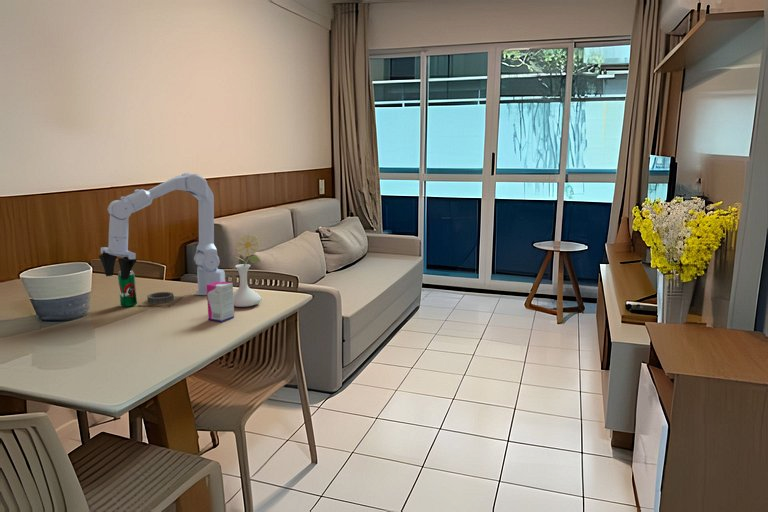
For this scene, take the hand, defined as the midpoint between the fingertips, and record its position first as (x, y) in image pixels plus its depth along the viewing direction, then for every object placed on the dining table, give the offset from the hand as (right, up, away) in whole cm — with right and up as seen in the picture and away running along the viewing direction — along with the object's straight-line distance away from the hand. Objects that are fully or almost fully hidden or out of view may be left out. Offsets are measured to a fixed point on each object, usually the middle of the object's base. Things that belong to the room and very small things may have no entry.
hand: (116, 277), depth 174 cm
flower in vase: (+41, -10, +6) cm, 43 cm away
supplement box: (+37, -13, -8) cm, 40 cm away
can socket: (+11, -9, +9) cm, 17 cm away
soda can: (+2, -10, +4) cm, 11 cm away
